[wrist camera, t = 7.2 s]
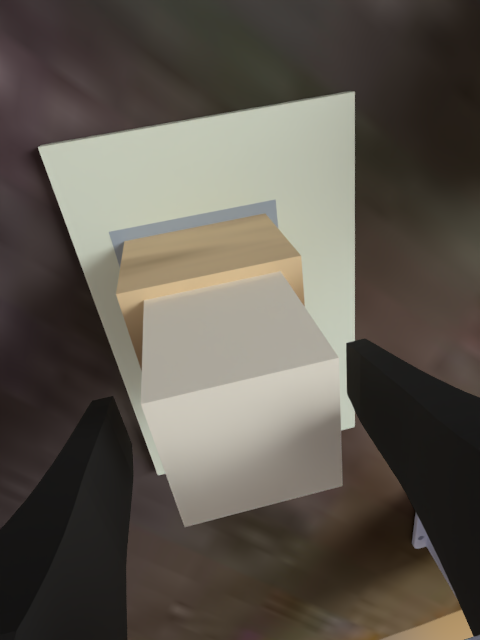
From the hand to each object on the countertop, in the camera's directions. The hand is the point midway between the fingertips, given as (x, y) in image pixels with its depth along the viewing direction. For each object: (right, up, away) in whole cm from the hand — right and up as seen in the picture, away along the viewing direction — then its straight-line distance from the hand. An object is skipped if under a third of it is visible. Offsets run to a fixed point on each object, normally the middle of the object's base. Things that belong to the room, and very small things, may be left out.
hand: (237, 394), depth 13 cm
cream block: (0, +2, +2) cm, 2 cm away
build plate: (0, +2, +8) cm, 8 cm away
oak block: (-1, +4, +6) cm, 7 cm away
